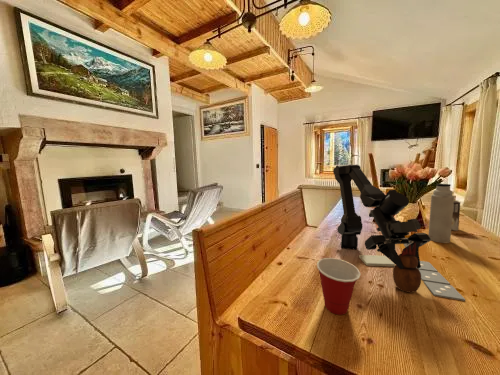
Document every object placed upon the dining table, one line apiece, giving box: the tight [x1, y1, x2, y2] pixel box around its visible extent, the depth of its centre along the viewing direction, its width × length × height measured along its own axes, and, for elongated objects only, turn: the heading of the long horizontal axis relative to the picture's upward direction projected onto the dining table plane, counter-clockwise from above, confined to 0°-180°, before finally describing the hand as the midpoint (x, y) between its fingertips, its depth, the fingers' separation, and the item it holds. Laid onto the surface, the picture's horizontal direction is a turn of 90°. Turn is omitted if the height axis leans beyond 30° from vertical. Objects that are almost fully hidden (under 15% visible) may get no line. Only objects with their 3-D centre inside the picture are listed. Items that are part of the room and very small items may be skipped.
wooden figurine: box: [392, 243, 422, 293], centre depth 61 cm, size 7×6×15 cm
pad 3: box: [423, 281, 466, 302], centre depth 61 cm, size 7×7×1 cm
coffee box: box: [451, 200, 461, 232], centre depth 115 cm, size 9×6×16 cm
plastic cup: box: [316, 257, 362, 316], centre depth 54 cm, size 11×11×12 cm
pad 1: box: [416, 260, 439, 272], centre depth 75 cm, size 7×7×1 cm
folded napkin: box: [358, 254, 396, 268], centre depth 80 cm, size 10×7×1 cm
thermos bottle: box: [427, 183, 455, 244], centre depth 98 cm, size 8×8×28 cm
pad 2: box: [419, 270, 451, 285], centre depth 68 cm, size 7×7×1 cm
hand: (410, 268), depth 60 cm, fingers closed on wooden figurine, 5 cm apart
